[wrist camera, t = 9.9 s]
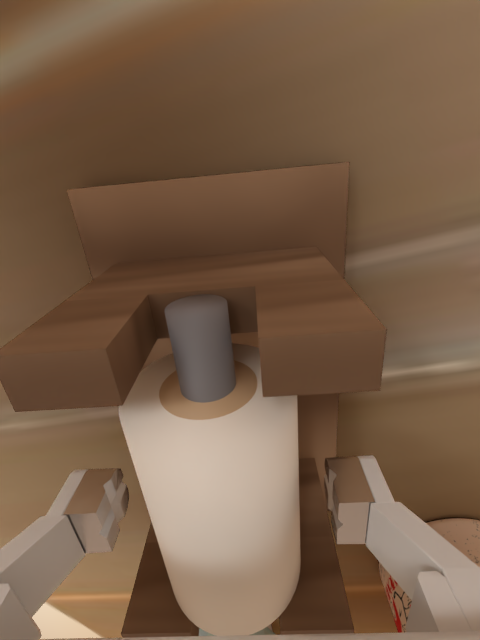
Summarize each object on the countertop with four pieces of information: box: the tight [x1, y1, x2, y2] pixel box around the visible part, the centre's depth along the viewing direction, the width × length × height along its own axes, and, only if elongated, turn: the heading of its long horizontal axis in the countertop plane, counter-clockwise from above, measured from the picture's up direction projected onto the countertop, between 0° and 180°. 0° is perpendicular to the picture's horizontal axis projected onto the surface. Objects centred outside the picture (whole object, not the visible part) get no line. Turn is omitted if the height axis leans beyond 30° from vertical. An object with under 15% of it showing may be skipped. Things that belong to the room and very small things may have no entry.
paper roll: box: [119, 294, 301, 636], centre depth 11 cm, size 13×5×5 cm
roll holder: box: [0, 162, 387, 638], centre depth 13 cm, size 18×10×8 cm, turn 5°
